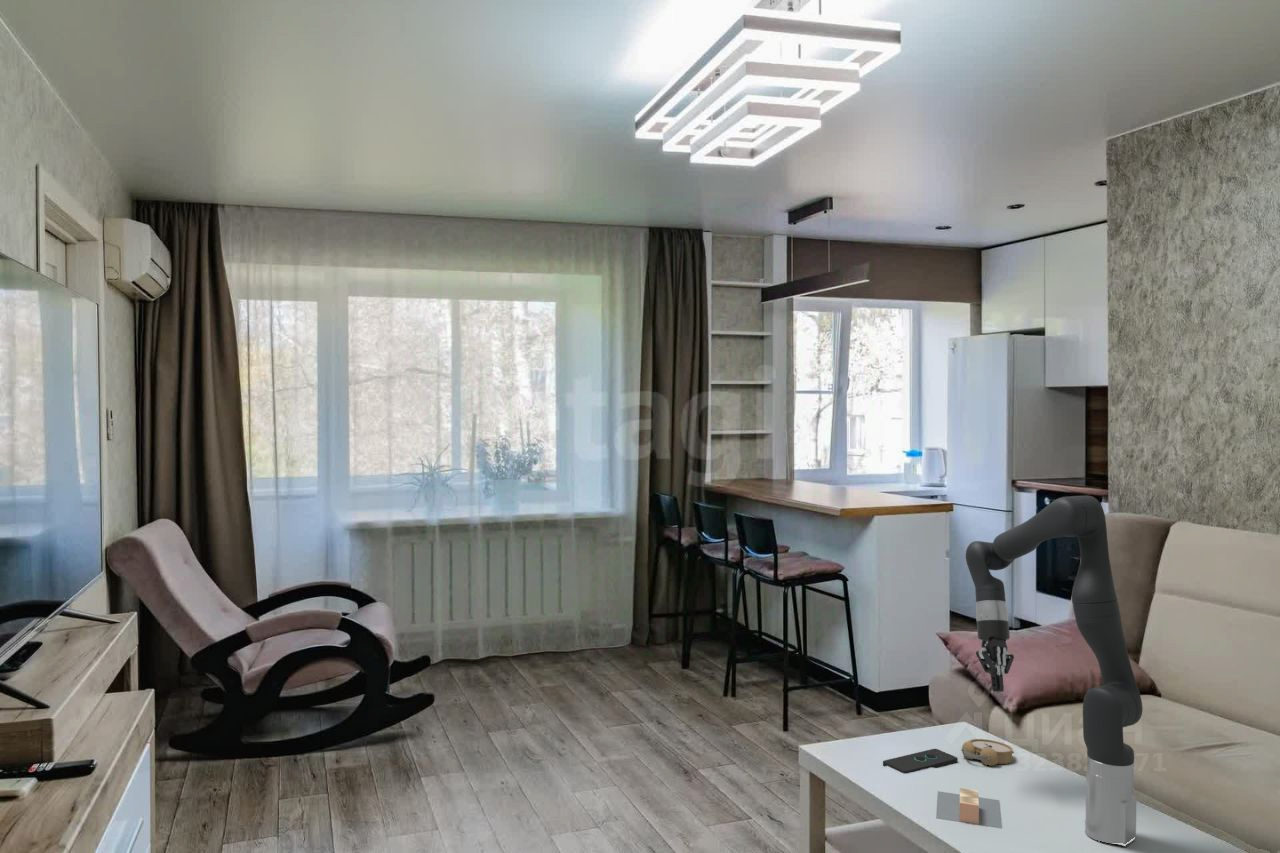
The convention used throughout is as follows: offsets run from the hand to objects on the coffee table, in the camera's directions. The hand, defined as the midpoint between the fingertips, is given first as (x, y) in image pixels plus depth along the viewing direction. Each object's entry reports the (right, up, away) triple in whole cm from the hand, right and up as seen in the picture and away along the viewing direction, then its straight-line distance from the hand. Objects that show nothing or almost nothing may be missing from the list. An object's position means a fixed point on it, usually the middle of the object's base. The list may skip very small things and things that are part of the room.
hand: (998, 691), depth 226 cm
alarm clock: (+5, -25, +21) cm, 33 cm away
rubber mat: (-12, -24, -12) cm, 30 cm away
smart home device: (-14, -25, +16) cm, 33 cm away
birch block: (-11, -22, -11) cm, 27 cm away
